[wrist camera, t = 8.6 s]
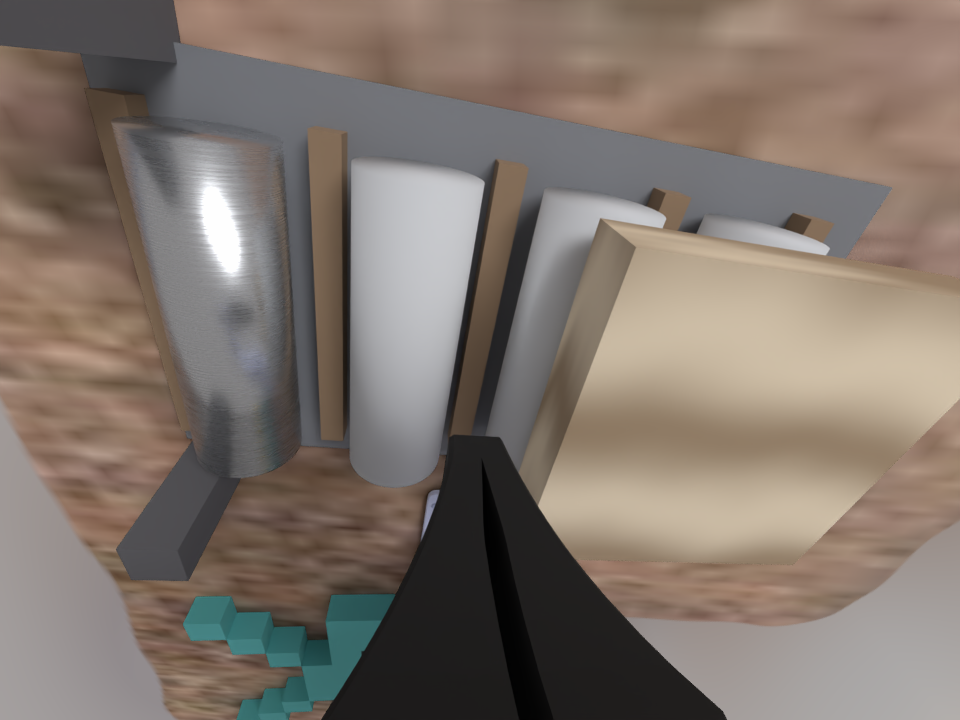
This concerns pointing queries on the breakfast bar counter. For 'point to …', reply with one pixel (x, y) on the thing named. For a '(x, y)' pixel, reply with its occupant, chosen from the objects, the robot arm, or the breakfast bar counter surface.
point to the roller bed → (471, 155)
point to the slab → (732, 395)
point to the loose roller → (220, 282)
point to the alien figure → (292, 647)
